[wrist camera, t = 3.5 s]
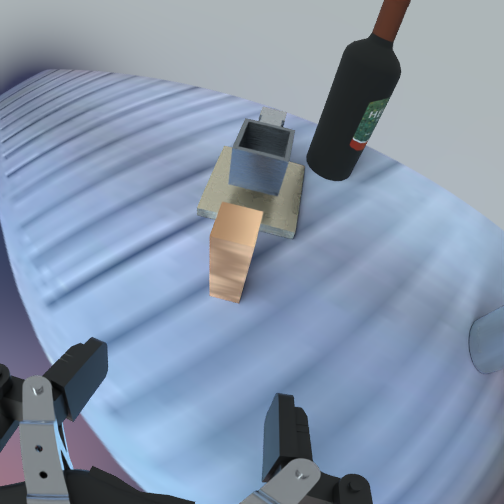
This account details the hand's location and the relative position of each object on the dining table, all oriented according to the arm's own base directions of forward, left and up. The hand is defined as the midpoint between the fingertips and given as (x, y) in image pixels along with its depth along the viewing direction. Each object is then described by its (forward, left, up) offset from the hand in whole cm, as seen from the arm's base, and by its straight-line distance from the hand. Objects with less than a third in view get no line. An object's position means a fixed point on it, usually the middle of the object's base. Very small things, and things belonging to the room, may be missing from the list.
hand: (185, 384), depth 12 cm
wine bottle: (-10, -36, -16) cm, 40 cm away
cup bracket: (0, -25, -16) cm, 29 cm away
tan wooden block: (0, -12, -16) cm, 20 cm away
